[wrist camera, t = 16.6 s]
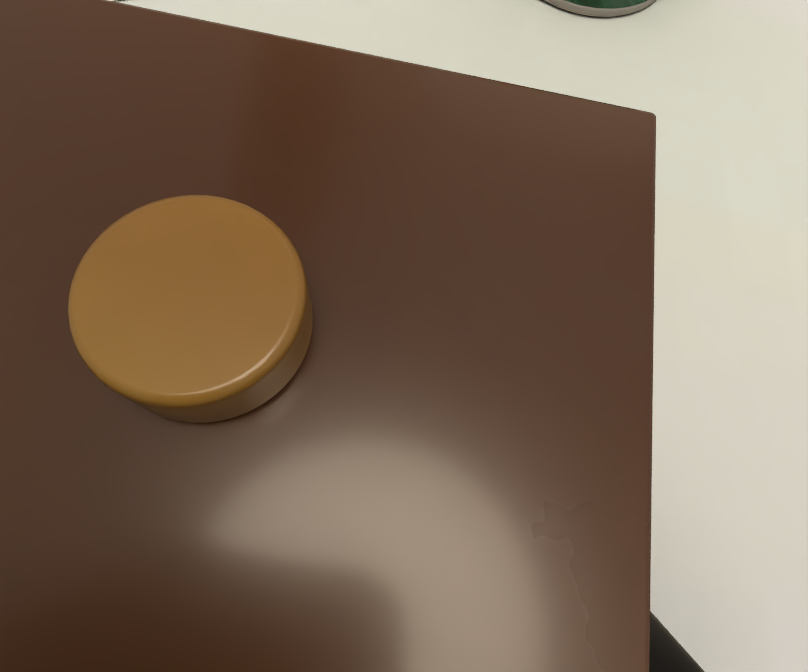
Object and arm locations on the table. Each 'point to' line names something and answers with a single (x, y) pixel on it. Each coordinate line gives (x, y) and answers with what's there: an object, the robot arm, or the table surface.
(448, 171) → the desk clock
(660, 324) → the table surface
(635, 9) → the canned tomato
